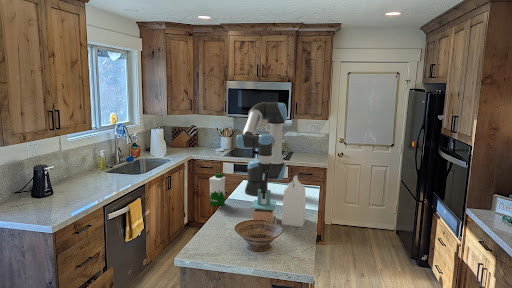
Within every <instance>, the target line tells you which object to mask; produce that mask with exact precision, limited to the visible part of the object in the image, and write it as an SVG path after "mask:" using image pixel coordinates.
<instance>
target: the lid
mask: <svg viewBox="0 0 512 288" xmlns="http://www.w3.org/2000/svg"><path fill="white" fill-rule="evenodd" d="M260 192H261V190H259V189H258V195H257V199H253V202H252V204H251V206H250V208H251V209H263V210H274V211H275V209H276V205H277V200H271V197H272V195H271V192H272V190H271V189H268V190H266V204H261V194H262V193H260Z"/></svg>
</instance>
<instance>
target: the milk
mask: <svg viewBox="0 0 512 288" xmlns="http://www.w3.org/2000/svg"><path fill="white" fill-rule="evenodd" d="M281 213H282V214H281V225H285V226H294V227H299V228H300V227H303V226H304V223H305V221H306V188H305V186H304V185H303V184H302V183H301V182H300V181H299V179H298V175H294V176H293V179H292V181H290V182H289V183H287V185H286V187H285V189H284V191H283V200H282V212H281Z"/></svg>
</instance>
